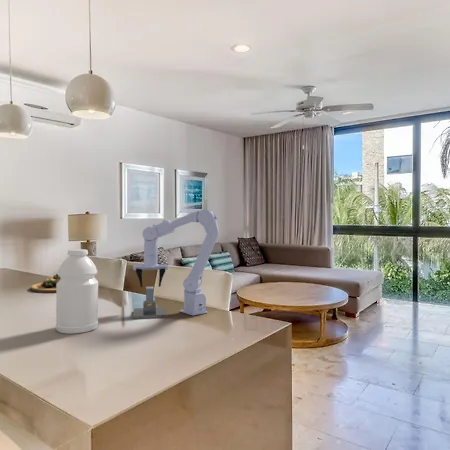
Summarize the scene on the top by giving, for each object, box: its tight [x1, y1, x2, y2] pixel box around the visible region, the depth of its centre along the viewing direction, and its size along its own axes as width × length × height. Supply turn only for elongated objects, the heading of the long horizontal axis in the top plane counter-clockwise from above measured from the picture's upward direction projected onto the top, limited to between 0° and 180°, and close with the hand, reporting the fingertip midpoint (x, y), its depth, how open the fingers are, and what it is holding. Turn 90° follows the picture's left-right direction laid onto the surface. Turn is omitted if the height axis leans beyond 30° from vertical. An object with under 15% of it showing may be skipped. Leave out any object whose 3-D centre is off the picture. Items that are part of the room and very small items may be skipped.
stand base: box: [132, 299, 167, 320], centre depth 152 cm, size 13×13×5 cm
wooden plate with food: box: [30, 273, 61, 294], centre depth 212 cm, size 32×32×8 cm
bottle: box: [55, 248, 99, 335], centre depth 130 cm, size 14×14×28 cm
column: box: [145, 285, 154, 303], centre depth 152 cm, size 3×3×7 cm
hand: (150, 286), depth 158 cm, fingers open, 7 cm apart
